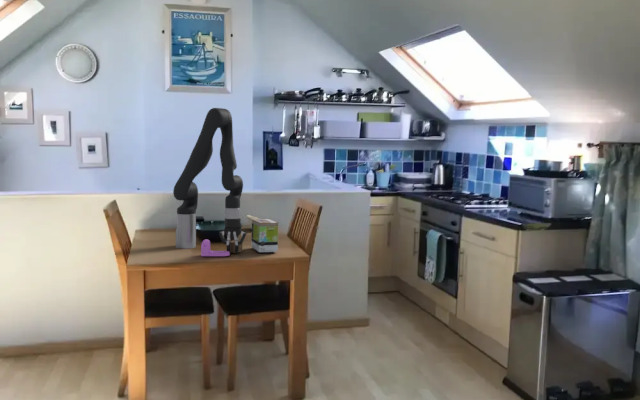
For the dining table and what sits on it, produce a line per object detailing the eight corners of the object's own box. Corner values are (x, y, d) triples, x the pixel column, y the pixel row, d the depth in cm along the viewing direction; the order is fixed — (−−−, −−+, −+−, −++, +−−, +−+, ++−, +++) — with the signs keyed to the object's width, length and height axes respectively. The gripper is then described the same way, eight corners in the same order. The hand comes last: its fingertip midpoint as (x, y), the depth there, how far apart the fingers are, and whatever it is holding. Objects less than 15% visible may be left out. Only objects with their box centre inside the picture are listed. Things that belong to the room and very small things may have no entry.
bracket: (201, 256, 251) (201, 241, 251) (202, 253, 257) (202, 239, 256) (229, 256, 253) (229, 241, 252) (229, 253, 259) (230, 239, 258)
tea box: (278, 251, 265) (278, 222, 263) (258, 253, 261) (258, 222, 260) (269, 246, 279) (270, 218, 277) (250, 247, 275) (251, 218, 274)
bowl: (270, 233, 320) (270, 216, 319) (246, 233, 318) (246, 216, 317) (268, 229, 335) (269, 213, 334) (246, 229, 333) (246, 213, 332)
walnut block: (234, 250, 267) (227, 251, 263) (235, 240, 266) (227, 241, 262) (242, 251, 264) (234, 252, 260) (242, 241, 263) (234, 242, 259)
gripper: (216, 217, 254) (216, 254, 256) (245, 218, 254) (245, 254, 255) (219, 215, 262) (219, 251, 263) (248, 216, 261) (248, 251, 263)
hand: (232, 252), depth 259 cm, fingers open, 3 cm apart
